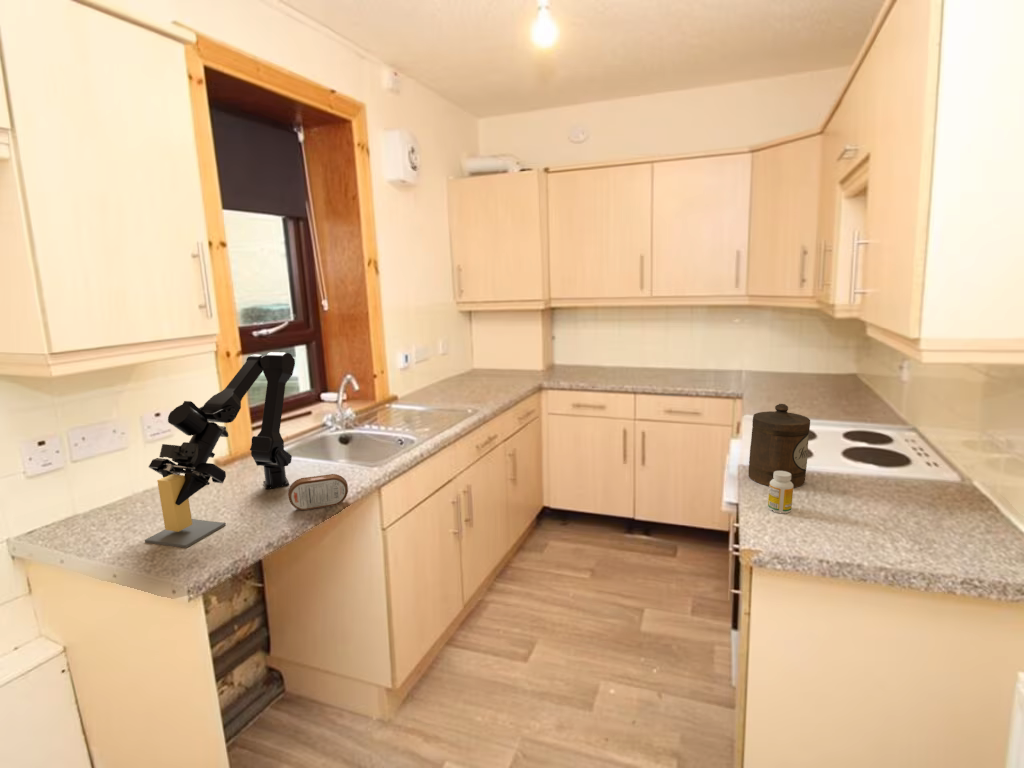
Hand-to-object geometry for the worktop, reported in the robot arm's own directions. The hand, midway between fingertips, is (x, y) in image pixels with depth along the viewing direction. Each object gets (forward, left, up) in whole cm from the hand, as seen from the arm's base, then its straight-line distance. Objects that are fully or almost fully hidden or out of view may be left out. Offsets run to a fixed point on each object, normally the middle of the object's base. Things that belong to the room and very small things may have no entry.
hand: (170, 503), depth 132 cm
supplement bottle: (+65, +132, -9) cm, 148 cm away
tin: (0, +33, -9) cm, 35 cm away
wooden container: (+51, +150, -9) cm, 159 cm away
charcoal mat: (-1, +2, -8) cm, 9 cm away
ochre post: (-1, +1, -7) cm, 7 cm away
